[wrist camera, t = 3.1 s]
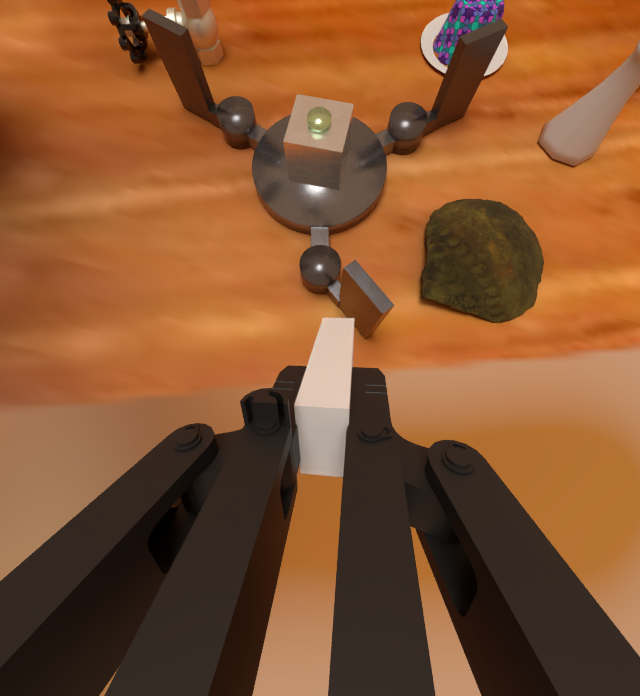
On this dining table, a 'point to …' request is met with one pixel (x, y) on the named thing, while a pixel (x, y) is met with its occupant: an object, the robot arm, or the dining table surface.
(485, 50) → the tribrach
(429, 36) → the pudding
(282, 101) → the dining table surface
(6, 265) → the dining table surface
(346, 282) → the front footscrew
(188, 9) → the valve
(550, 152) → the flask
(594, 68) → the dining table surface
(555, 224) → the dining table surface
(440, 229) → the pottery fragment
